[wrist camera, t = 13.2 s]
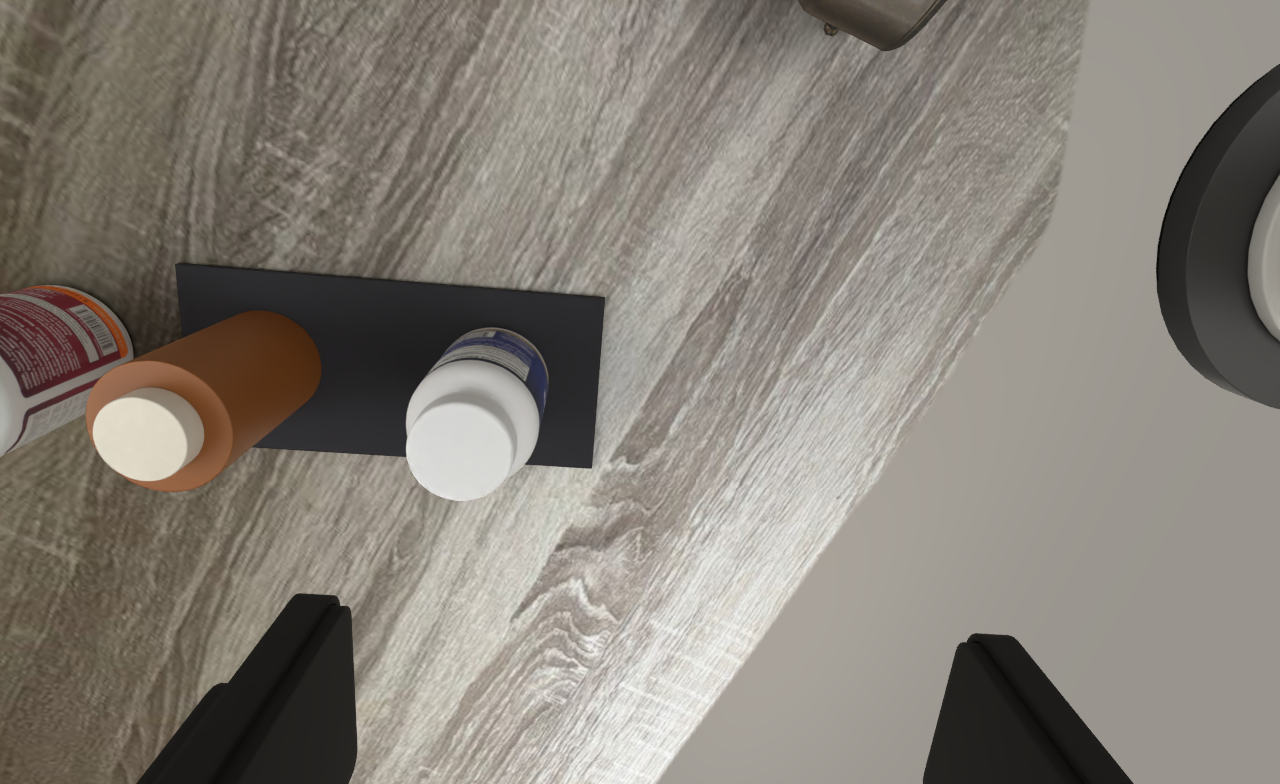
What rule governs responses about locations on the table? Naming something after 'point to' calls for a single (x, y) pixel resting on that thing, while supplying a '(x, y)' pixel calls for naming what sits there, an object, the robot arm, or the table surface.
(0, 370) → the pill bottle
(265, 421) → the amber bottle
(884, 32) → the alarm clock
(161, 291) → the table surface
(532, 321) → the plate
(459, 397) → the pill bottle
